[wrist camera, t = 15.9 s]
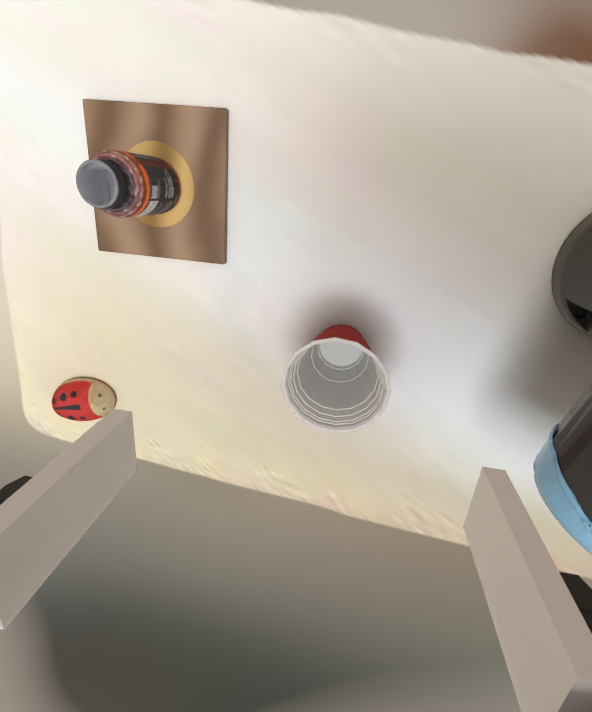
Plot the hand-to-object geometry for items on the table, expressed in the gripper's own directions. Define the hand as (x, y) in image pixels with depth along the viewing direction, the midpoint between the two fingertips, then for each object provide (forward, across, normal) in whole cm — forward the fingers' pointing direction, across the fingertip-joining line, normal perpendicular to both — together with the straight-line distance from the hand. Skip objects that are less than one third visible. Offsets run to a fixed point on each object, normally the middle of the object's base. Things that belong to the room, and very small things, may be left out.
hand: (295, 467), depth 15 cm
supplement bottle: (+34, -22, +9) cm, 41 cm away
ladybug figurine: (+35, -35, -21) cm, 54 cm away
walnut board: (+35, -22, +9) cm, 42 cm away
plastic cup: (+35, +1, -8) cm, 36 cm away
